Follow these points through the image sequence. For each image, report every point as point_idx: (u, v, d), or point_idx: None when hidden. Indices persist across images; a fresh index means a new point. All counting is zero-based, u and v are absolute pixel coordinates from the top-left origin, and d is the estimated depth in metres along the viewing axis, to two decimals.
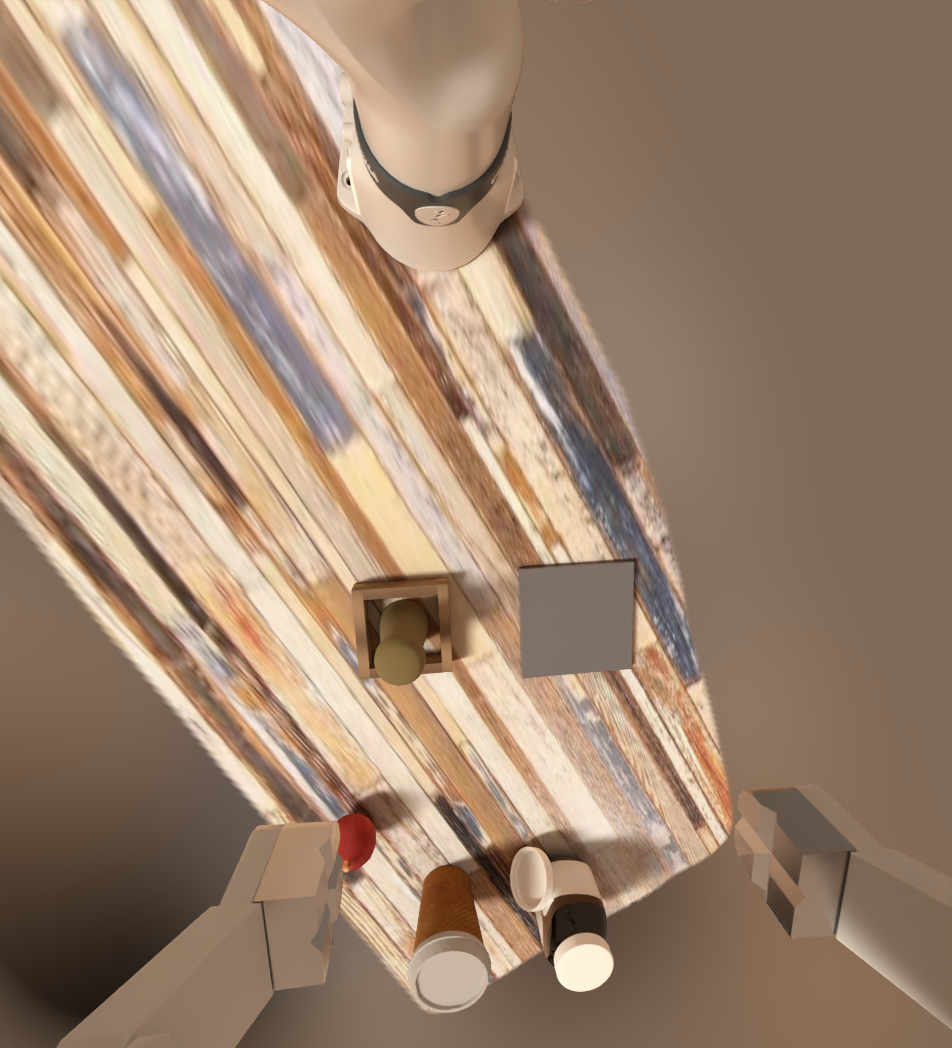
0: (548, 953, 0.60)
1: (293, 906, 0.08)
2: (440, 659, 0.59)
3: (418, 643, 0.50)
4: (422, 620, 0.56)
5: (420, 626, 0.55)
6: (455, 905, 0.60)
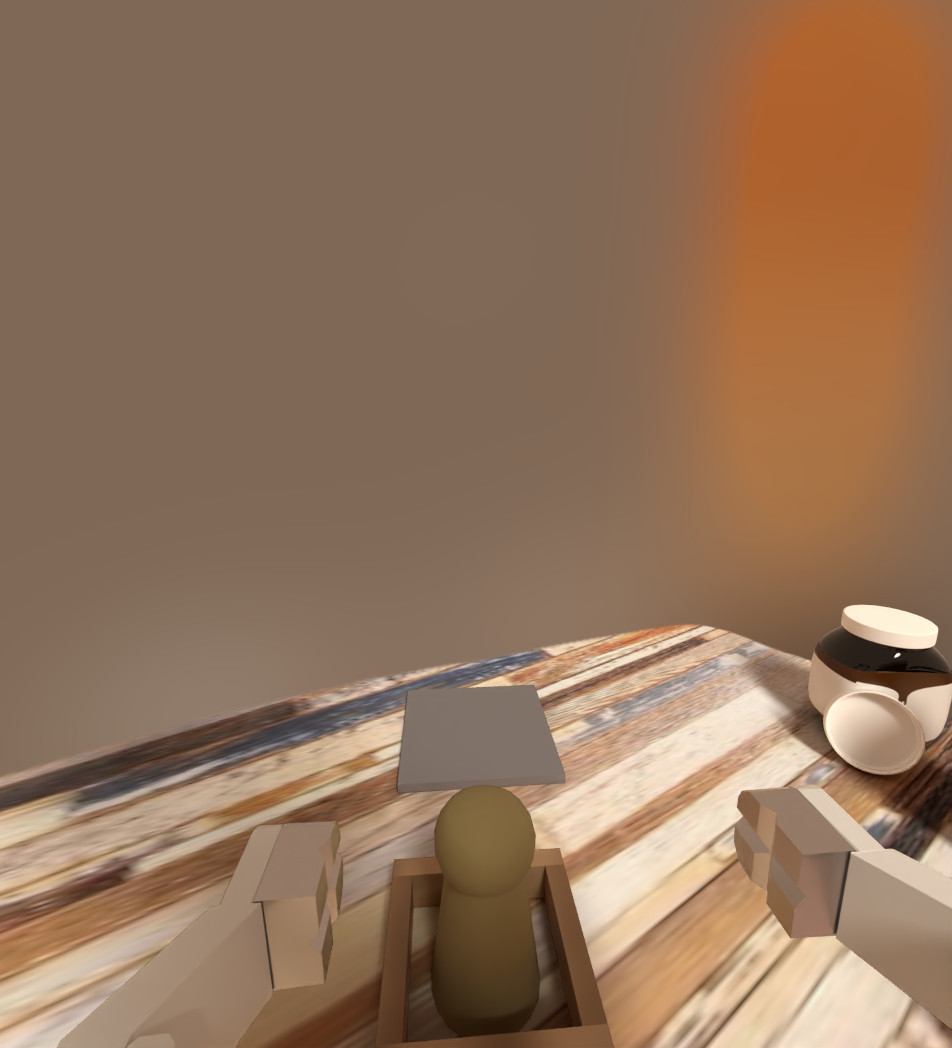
0: (930, 665, 0.43)
1: (293, 906, 0.08)
2: (545, 879, 0.31)
3: None
4: None
5: None
6: None
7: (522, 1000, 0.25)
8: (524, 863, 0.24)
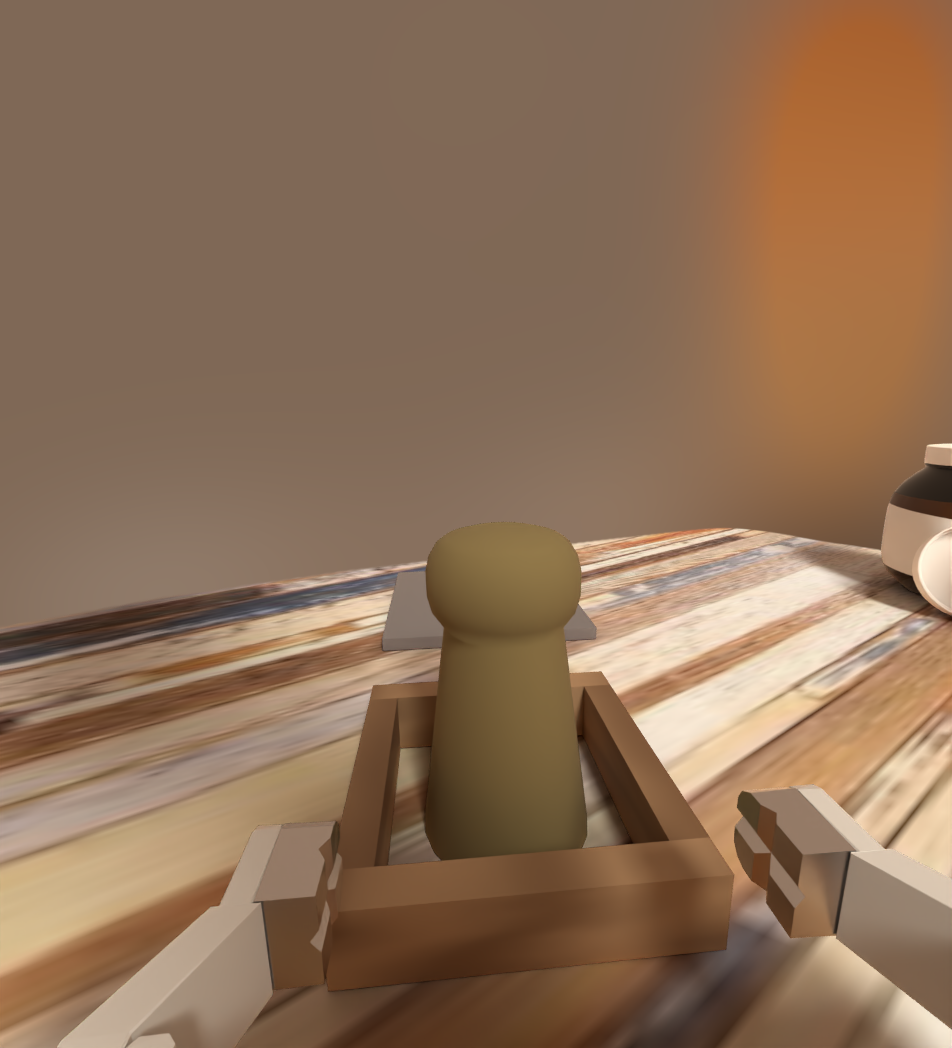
0: None
1: (293, 906, 0.08)
2: (584, 705, 0.22)
3: None
4: None
5: None
6: None
7: (565, 826, 0.16)
8: (569, 586, 0.15)
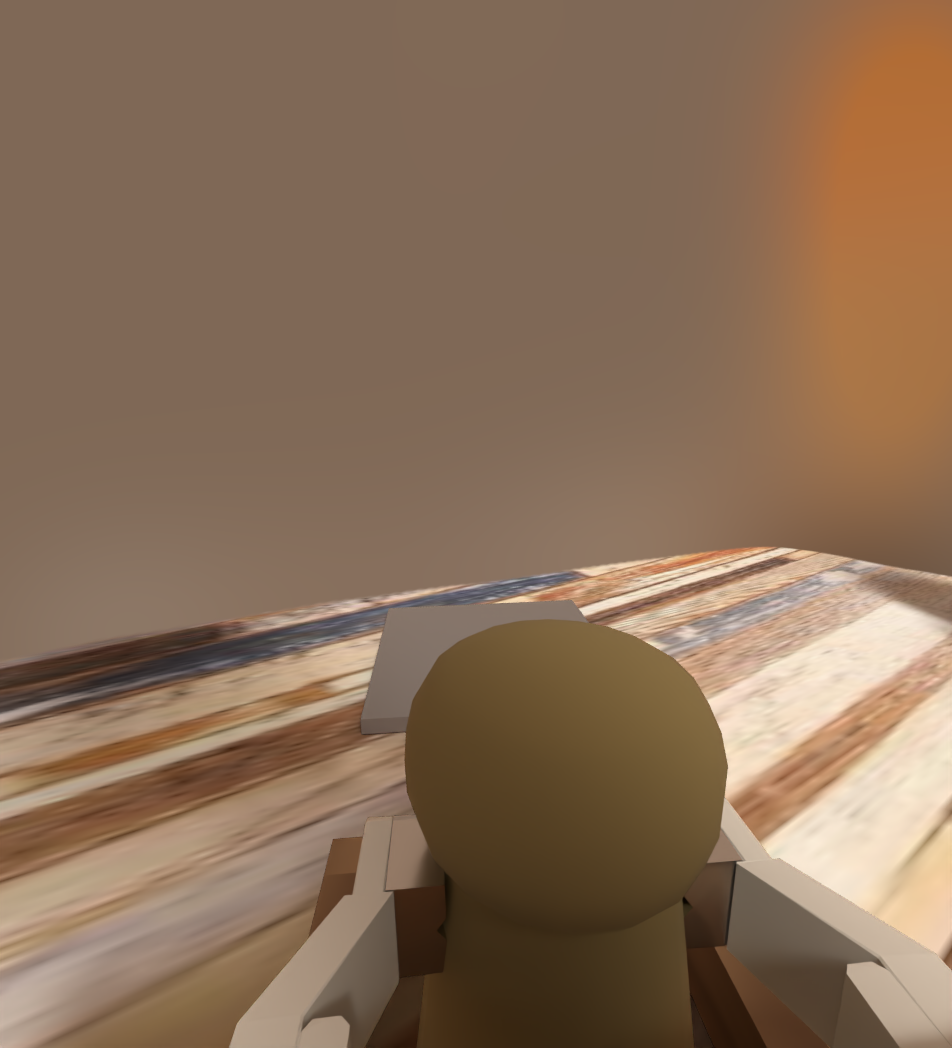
0: None
1: (422, 895, 0.08)
2: None
3: None
4: None
5: None
6: None
7: None
8: (718, 808, 0.07)
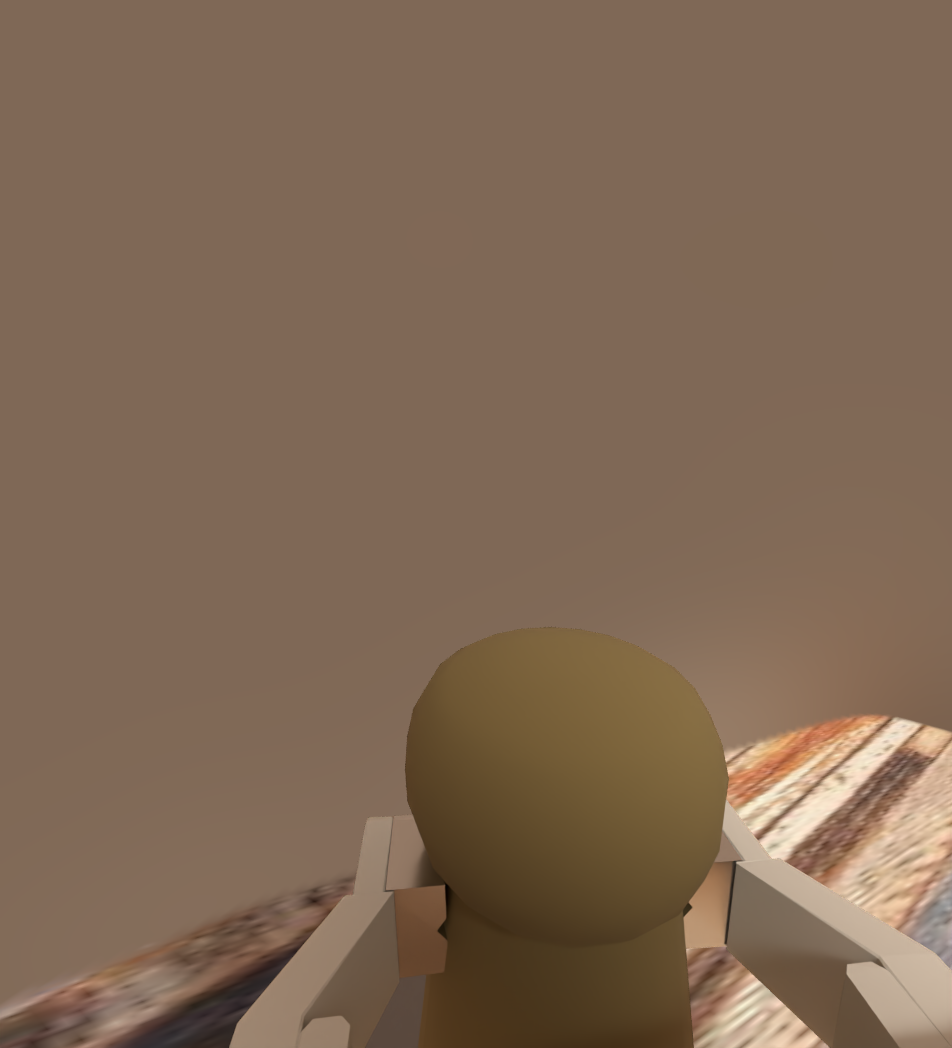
0: None
1: (422, 895, 0.08)
2: None
3: None
4: None
5: None
6: None
7: None
8: (718, 821, 0.07)
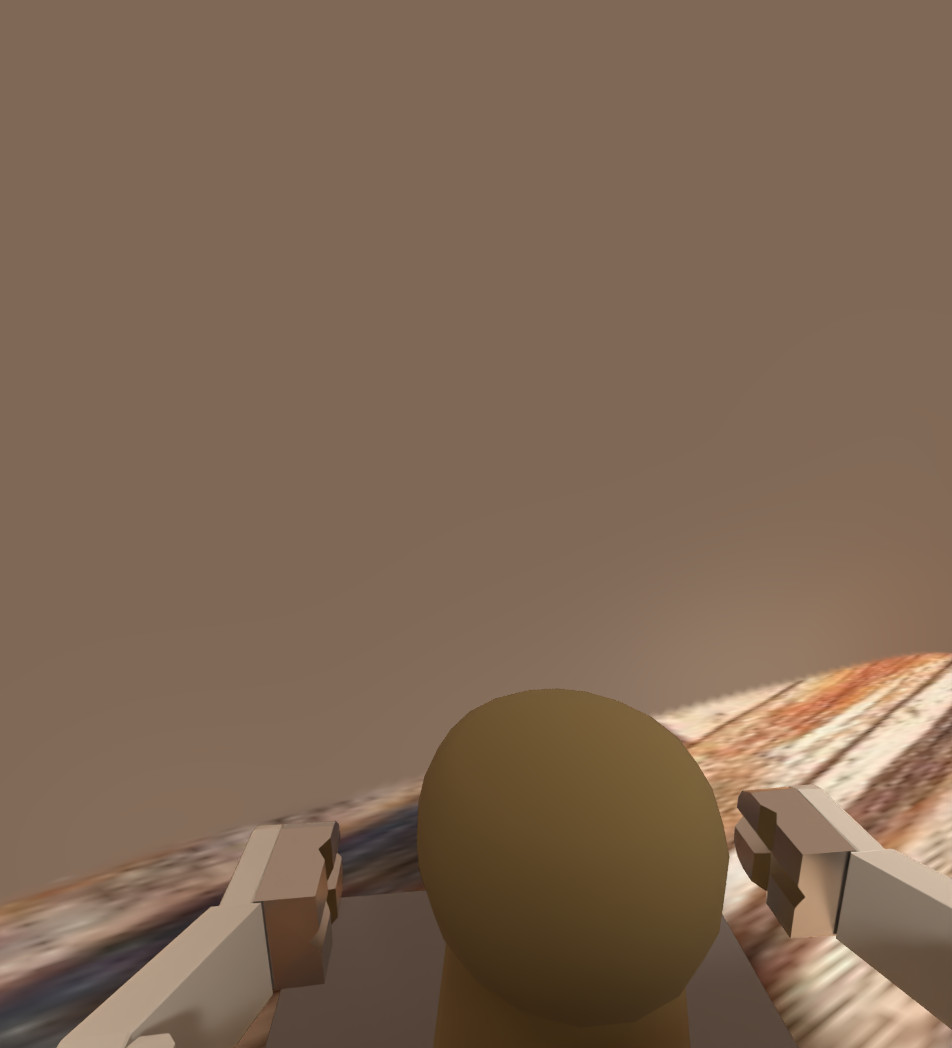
0: None
1: (293, 906, 0.08)
2: None
3: None
4: None
5: None
6: None
7: None
8: (718, 906, 0.07)
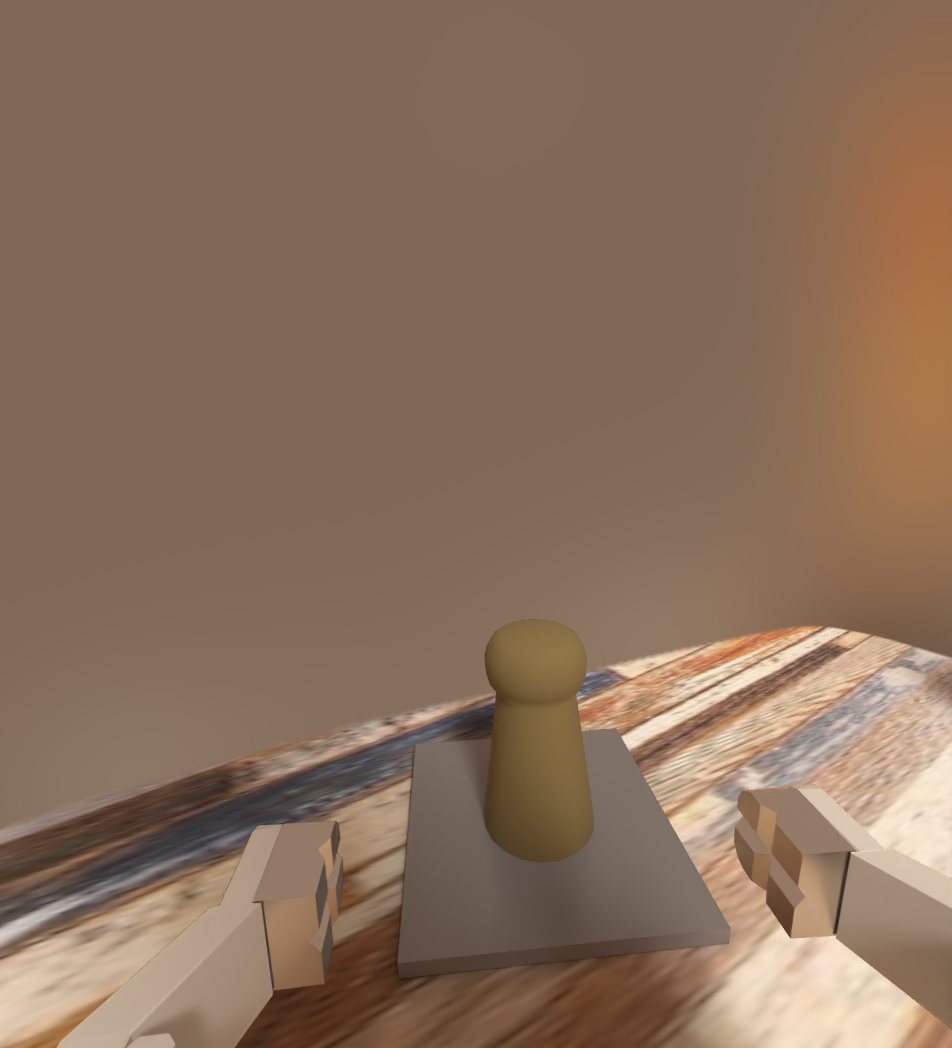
0: None
1: (293, 906, 0.08)
2: None
3: None
4: None
5: None
6: None
7: (578, 823, 0.25)
8: (577, 671, 0.24)
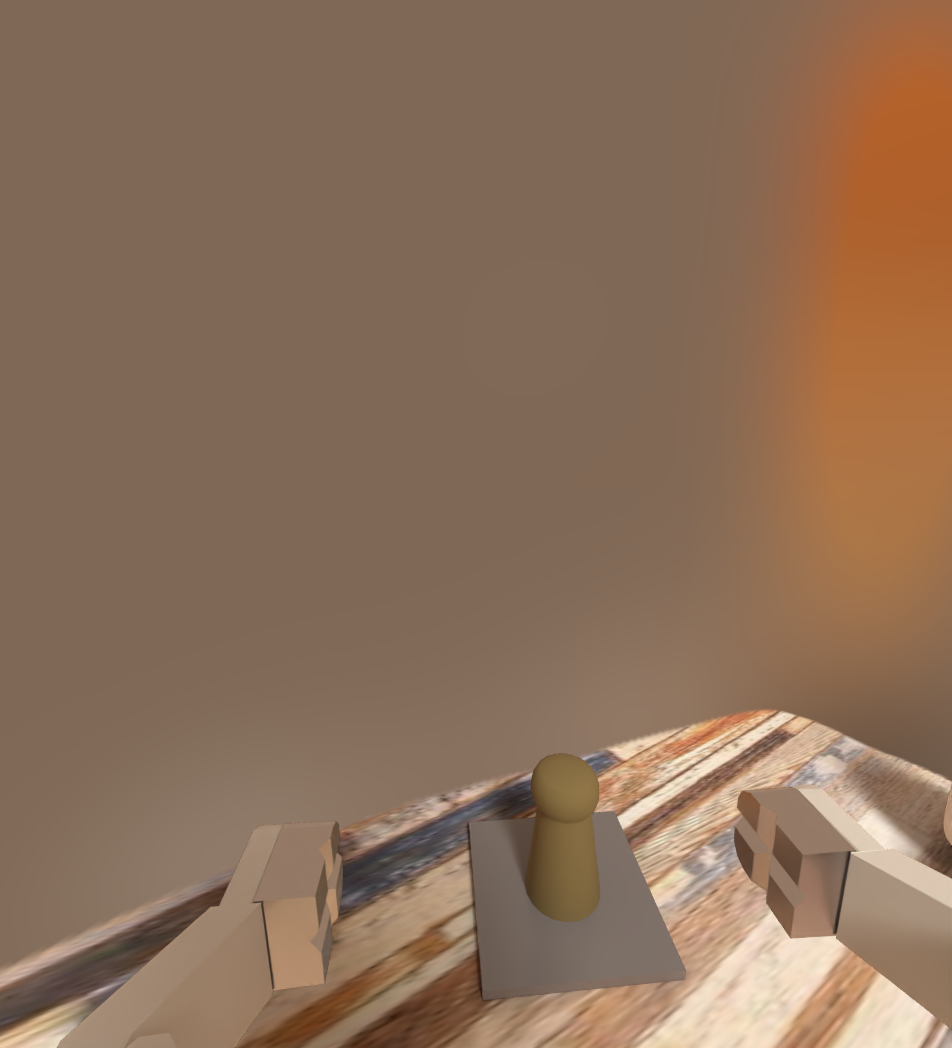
0: None
1: (293, 906, 0.08)
2: None
3: None
4: None
5: None
6: None
7: (591, 895, 0.38)
8: (594, 801, 0.36)
